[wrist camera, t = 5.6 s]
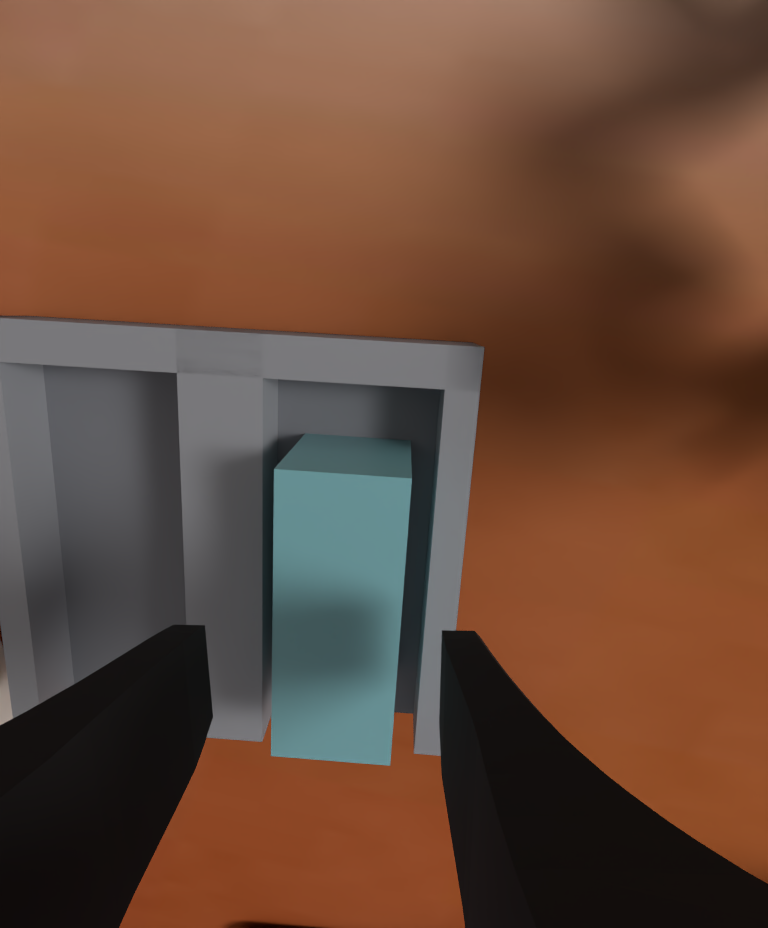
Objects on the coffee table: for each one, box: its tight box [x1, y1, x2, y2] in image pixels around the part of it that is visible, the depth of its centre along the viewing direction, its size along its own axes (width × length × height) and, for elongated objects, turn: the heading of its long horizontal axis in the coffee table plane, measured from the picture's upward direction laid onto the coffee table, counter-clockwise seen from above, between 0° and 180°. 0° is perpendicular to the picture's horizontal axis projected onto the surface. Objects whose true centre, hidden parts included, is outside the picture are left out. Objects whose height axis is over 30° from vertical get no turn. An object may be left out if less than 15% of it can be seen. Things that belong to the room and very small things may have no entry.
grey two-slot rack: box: [0, 316, 484, 756], centre depth 15 cm, size 11×12×2 cm
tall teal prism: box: [271, 433, 412, 766], centre depth 14 cm, size 7×3×4 cm, turn 177°
